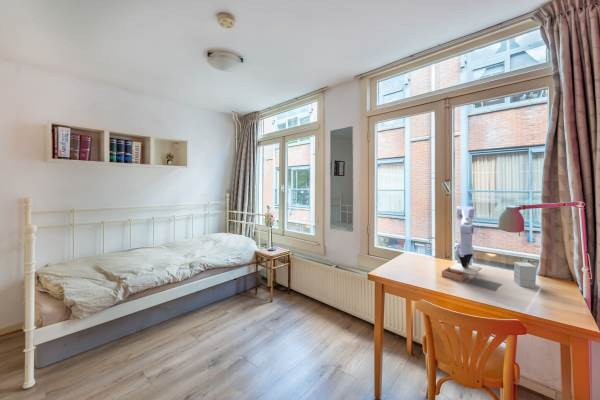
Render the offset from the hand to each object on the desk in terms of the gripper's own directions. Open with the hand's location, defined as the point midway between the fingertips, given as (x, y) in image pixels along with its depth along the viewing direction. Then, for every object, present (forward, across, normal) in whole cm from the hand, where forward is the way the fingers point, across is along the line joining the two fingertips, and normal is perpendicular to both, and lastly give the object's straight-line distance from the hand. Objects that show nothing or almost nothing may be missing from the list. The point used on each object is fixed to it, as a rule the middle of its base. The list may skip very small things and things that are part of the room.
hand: (465, 266), depth 151 cm
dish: (+9, 0, +5) cm, 10 cm away
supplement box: (+9, +16, -25) cm, 31 cm away
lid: (+2, 0, 0) cm, 2 cm away
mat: (+9, 0, -10) cm, 13 cm away
